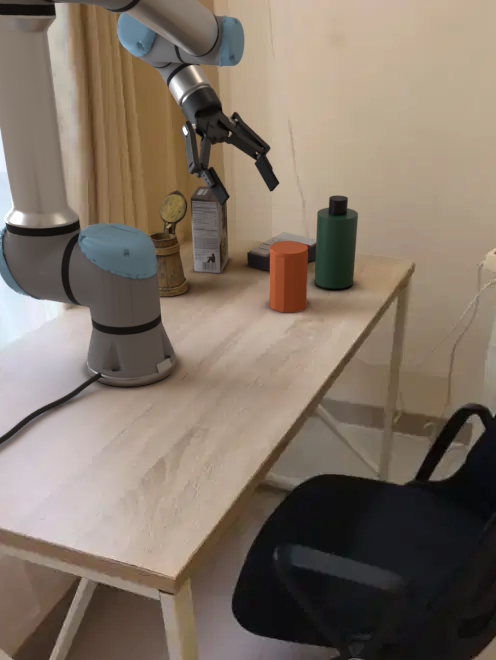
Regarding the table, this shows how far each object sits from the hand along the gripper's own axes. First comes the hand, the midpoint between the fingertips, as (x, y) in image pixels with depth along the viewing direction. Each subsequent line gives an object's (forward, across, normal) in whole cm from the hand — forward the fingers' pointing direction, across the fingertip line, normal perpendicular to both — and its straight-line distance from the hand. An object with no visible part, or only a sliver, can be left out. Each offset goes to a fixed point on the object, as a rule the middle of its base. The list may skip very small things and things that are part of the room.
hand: (250, 194), depth 147 cm
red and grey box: (+9, -18, -20) cm, 28 cm away
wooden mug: (+4, +10, -24) cm, 27 cm away
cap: (+22, 0, -6) cm, 23 cm away
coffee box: (+2, -4, -26) cm, 27 cm away
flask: (+21, -16, -7) cm, 27 cm away
